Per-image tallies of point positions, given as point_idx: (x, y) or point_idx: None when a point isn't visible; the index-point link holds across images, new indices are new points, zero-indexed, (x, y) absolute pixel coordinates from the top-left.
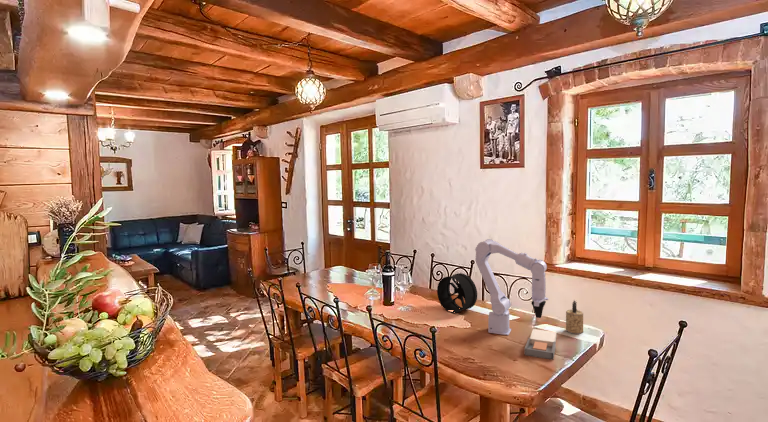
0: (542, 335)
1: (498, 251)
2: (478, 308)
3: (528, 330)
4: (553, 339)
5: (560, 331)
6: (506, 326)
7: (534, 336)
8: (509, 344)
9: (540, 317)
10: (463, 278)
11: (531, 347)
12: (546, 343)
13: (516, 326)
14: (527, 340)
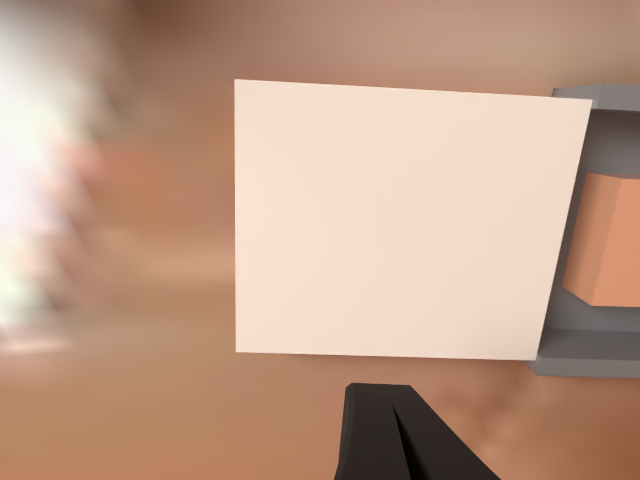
0: (410, 243)
1: None
2: None
3: (158, 369)
4: (507, 112)
5: (23, 39)
6: None
7: (464, 321)
8: (545, 470)
9: (416, 397)
10: None
11: (599, 311)
12: (629, 187)
13: (101, 472)
14: (611, 377)
